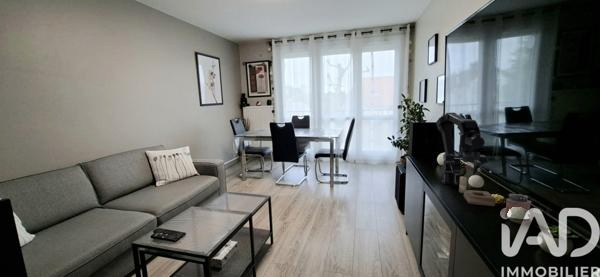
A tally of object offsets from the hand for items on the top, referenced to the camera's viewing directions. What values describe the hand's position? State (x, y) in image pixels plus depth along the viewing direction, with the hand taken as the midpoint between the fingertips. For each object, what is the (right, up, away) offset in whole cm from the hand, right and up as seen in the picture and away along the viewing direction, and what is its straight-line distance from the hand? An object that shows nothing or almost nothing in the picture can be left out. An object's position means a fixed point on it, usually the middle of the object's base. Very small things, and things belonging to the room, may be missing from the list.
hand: (463, 174), depth 131 cm
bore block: (+1, -11, -10) cm, 15 cm away
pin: (0, -10, +1) cm, 10 cm away
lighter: (+4, -14, -27) cm, 31 cm away
